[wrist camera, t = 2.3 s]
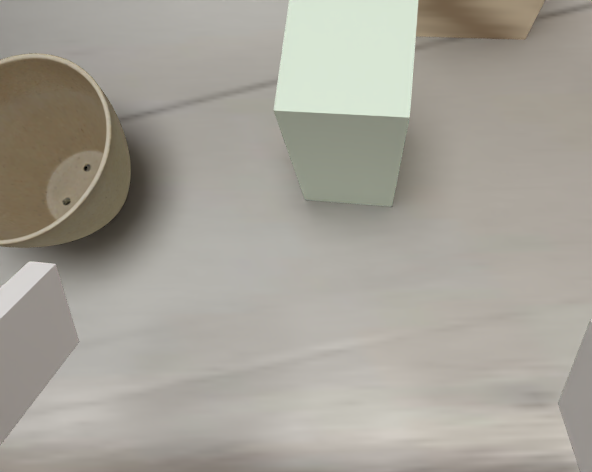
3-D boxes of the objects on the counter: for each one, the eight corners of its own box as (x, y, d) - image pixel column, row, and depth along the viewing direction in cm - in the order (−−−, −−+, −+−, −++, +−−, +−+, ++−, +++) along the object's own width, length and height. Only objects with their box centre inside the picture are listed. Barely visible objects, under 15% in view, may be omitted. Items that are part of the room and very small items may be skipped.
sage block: (304, 200, 30) (273, 110, 19) (314, 121, 31) (289, -5, 20) (391, 206, 29) (409, 117, 18) (398, 125, 30) (418, -3, 20)
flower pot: (151, 99, 33) (95, 28, 26) (179, 246, 30) (124, 212, 23) (6, 140, 33) (-87, 82, 26) (20, 289, 31) (-79, 268, 24)
